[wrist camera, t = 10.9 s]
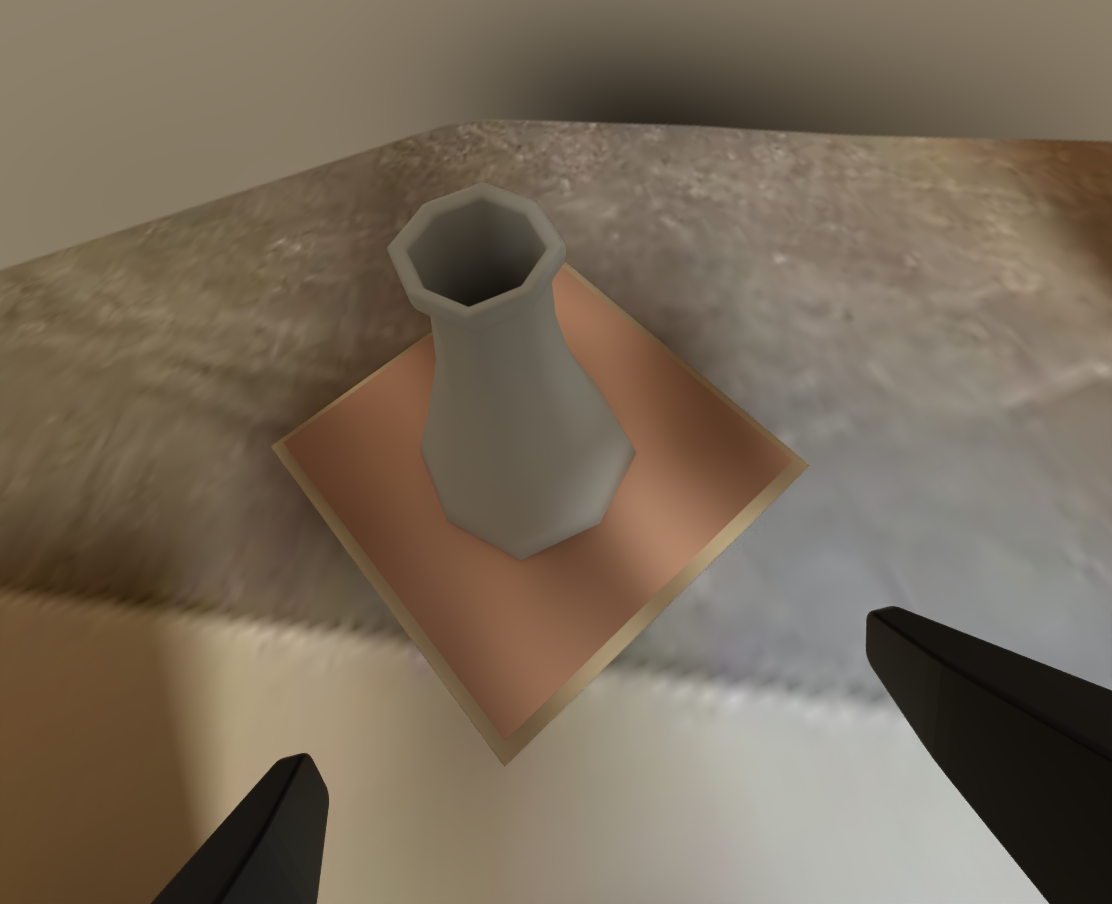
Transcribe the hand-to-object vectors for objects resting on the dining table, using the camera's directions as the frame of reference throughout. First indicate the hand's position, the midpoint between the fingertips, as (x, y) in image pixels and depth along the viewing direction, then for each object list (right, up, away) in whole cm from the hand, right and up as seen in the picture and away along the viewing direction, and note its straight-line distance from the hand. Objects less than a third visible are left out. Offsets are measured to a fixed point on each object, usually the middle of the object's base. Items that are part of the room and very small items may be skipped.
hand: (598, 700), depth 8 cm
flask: (-2, +4, +11) cm, 12 cm away
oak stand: (-1, +3, +14) cm, 14 cm away
